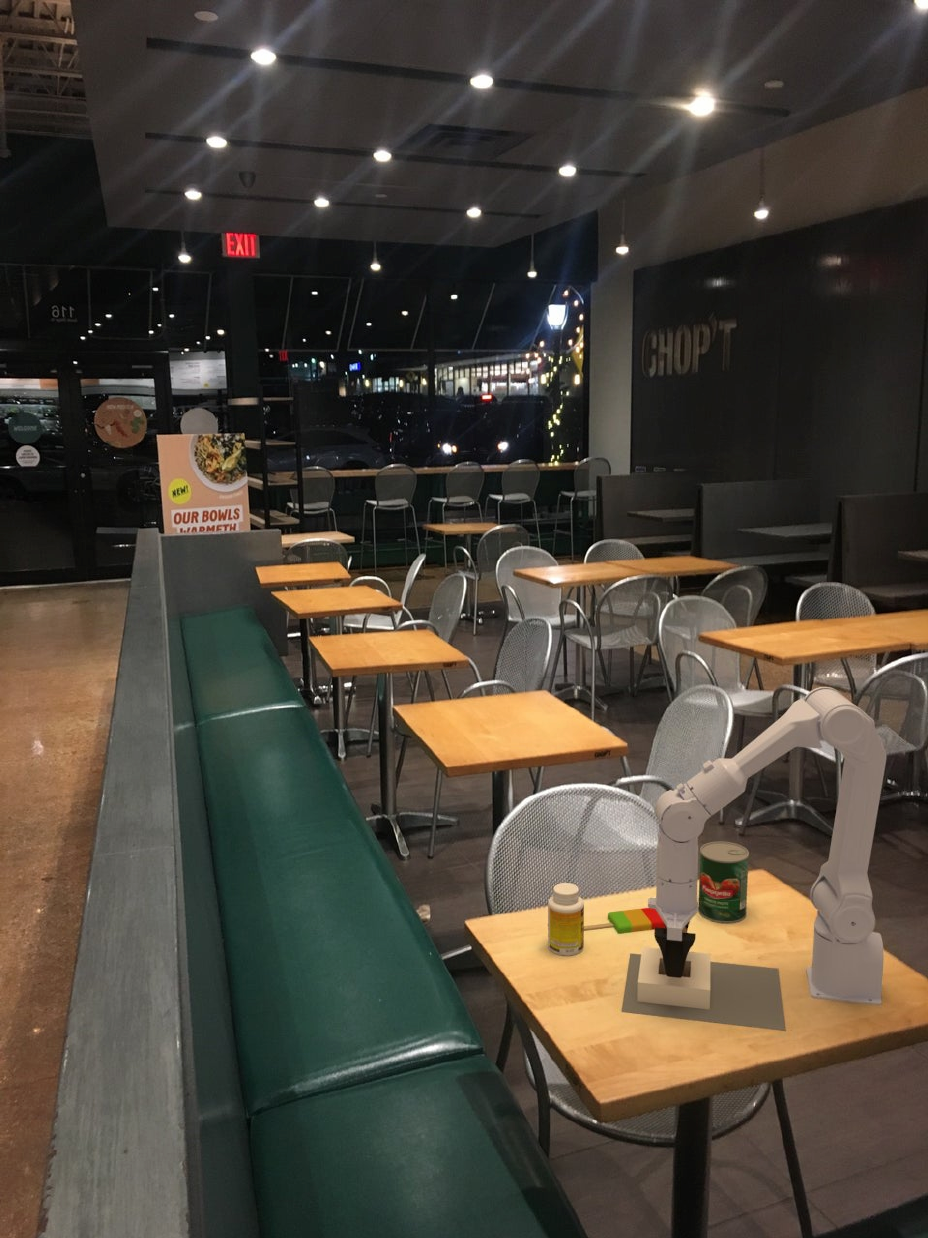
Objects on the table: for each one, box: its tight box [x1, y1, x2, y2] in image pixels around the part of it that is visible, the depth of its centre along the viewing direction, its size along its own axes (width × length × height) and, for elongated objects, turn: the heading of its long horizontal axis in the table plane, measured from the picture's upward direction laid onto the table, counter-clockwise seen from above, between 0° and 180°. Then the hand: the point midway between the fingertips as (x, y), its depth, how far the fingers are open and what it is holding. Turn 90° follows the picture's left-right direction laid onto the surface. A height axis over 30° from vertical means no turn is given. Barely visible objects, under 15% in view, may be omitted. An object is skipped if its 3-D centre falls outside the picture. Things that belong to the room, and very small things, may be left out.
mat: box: [621, 953, 787, 1032], centre depth 146 cm, size 22×16×1 cm
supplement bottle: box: [547, 882, 585, 957], centre depth 158 cm, size 6×6×10 cm
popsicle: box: [584, 907, 665, 935], centre depth 166 cm, size 6×15×2 cm, turn 101°
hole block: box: [637, 946, 711, 1010], centre depth 147 cm, size 10×10×3 cm
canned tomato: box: [697, 841, 750, 924], centre depth 168 cm, size 8×8×11 cm
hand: (675, 962), depth 147 cm, fingers open, 7 cm apart
